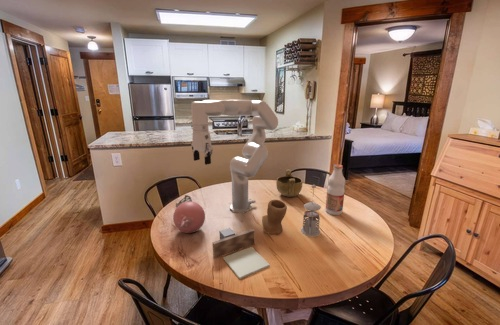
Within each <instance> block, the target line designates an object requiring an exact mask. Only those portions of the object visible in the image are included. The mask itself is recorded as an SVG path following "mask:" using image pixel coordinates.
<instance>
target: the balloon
mask: <svg viewBox="0 0 500 325" xmlns="http://www.w3.org/2000/svg"><path fill="white" fill-rule="evenodd" d="M172 215H173V216H172V217H173V218H172V220H173V223H174V226H175V227H176V229H177V230H178V231H180V232H183V233H185V234H191V233H195V232H197V231H199V230H200V229H201V228H202V227H203V225H204V224H205V220H206V213H205V210H204V208H203V207H202V206H201V204H200V203H197V202H196V201H193V200H192V201H188V202H184V203H182V204H180V205H179V206H178V207H175V209H174V211H173V214H172Z"/></svg>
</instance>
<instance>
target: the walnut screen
mask: <svg viewBox="0 0 500 325" xmlns="http://www.w3.org/2000/svg"><path fill="white" fill-rule="evenodd" d="M255 233H256V231H255V229H254V228H251V229H248V230H246V231H243V232H239V233H235V235H233V236H230V237H227V238H224V239H221V240H220V239H218V240H215V241H212V257H213V258H214V259H217V258H220V257H222V256H223V257H224V256H225V255H226V256H227V255H228V254H231V253H235V252H236V251H238V250H239V251H240V250H243V249H244V248H245V249H246V248H248V247H251V246H252V245H255V241H256V238H255V237H256V236H255Z"/></svg>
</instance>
